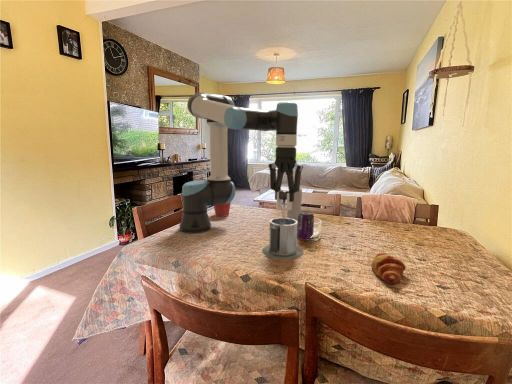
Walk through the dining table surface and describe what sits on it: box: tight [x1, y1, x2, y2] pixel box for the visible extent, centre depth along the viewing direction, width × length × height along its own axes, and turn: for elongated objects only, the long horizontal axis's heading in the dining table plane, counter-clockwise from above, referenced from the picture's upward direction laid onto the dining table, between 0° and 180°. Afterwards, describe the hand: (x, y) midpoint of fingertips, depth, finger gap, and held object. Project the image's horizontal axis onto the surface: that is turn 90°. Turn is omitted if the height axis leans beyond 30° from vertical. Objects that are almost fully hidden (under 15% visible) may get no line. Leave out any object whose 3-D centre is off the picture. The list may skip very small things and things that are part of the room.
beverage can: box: [297, 210, 315, 241], centre depth 126 cm, size 7×7×12 cm
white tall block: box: [286, 187, 303, 226], centre depth 147 cm, size 7×14×20 cm, turn 54°
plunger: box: [280, 190, 289, 225], centre depth 107 cm, size 8×8×19 cm
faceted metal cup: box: [269, 217, 298, 257], centre depth 107 cm, size 11×13×12 cm
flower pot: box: [213, 201, 232, 217], centre depth 164 cm, size 11×11×10 cm
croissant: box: [370, 252, 406, 284], centre depth 94 cm, size 21×10×8 cm, turn 164°
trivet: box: [261, 245, 304, 261], centre depth 109 cm, size 16×16×1 cm
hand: (284, 209), depth 106 cm, fingers closed on plunger, 4 cm apart
